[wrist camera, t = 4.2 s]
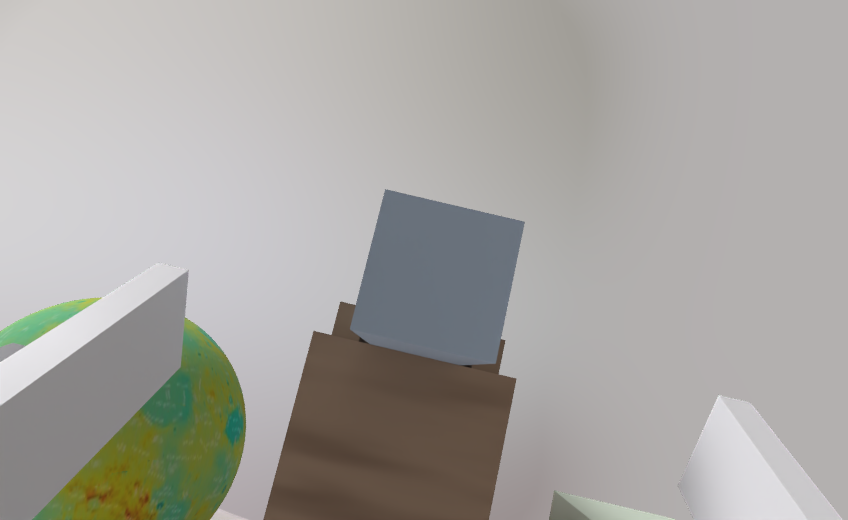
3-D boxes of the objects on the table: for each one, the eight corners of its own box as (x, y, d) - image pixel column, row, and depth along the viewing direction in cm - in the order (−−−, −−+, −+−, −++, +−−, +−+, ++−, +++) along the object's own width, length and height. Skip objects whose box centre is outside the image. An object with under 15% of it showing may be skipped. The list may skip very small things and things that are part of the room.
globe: (-70, 517, 69) (20, 273, 74) (192, 540, 80) (253, 328, 86) (-209, 653, 42) (-50, 253, 47) (217, 657, 54) (303, 338, 59)
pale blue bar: (495, 363, 15) (525, 221, 16) (349, 329, 16) (385, 189, 16) (436, 366, 43) (447, 313, 44) (383, 354, 43) (396, 301, 44)
